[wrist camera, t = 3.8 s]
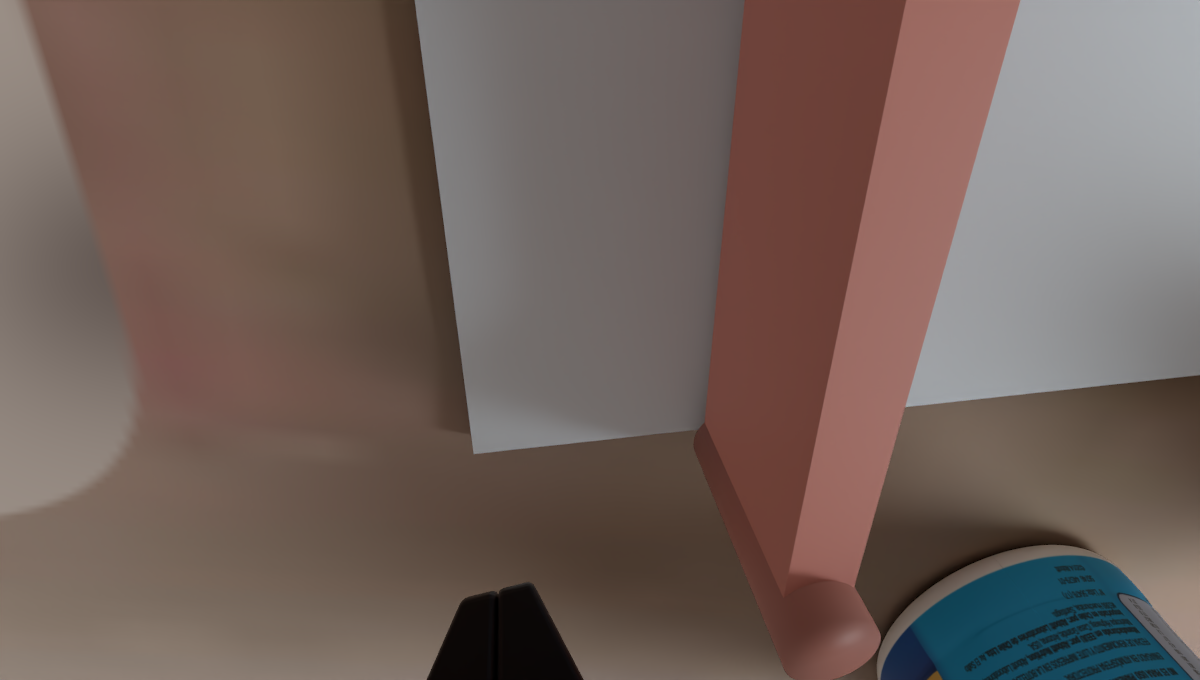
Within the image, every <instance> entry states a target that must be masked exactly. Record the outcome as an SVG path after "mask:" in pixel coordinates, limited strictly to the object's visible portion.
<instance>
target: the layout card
mask: <svg viewBox="0 0 1200 680" xmlns="http://www.w3.org/2000/svg"><path fill="white" fill-rule="evenodd" d="M744 2H745V0H415V6H416V14H417V22H418V29H419V37H420V45H421V53H422V60H423V68H424V76H425V83H426V91H427V99H428V106H429V114H430V122H431V130H432V137H433V145H434V153H435V160H436V168H437V176H438V183H439V191H440V199H441V206H442V214H443V222H444V230H445V237H446V245H447V253H448V260H449V268H450V276H451V283H452V291H453V299H454V307H455V314H456V322H457V330H458V337H459V345H460V353H461V360H462V368H463V376H464V383H465V391H466V399H467V407H468V414H469V422H470V430H471V437H472V445H473V453H474V454H479V453H488V452H497V451H507V450H516V449H525V448H534V447H543V446H552V445H562V444H571V443H580V442H589V441H598V440H608V439H617V438H626V437H635V436H644V435H654V434H663V433H672V432H681V431H690V430H699V428H700V427H701V426H702V424H703V423H704V422H705V412H706V401H707V391H708V380H709V370H710V359H711V349H712V338H713V328H714V317H715V307H716V296H717V286H718V275H719V265H720V254H721V244H722V233H723V223H724V212H725V202H726V191H727V181H728V170H729V160H730V149H731V139H732V128H733V118H734V107H735V97H736V86H737V76H738V65H739V55H740V44H741V34H742V23H743V13H744ZM1196 375H1200V0H1020V4H1019V7H1018V11H1017V14H1016V18H1015V21H1014V25H1013V28H1012V32H1011V35H1010V39H1009V42H1008V46H1007V49H1006V53H1005V57H1004V60H1003V64H1002V67H1001V71H1000V74H999V78H998V81H997V85H996V88H995V92H994V95H993V99H992V102H991V106H990V109H989V113H988V117H987V120H986V124H985V127H984V131H983V134H982V138H981V141H980V145H979V148H978V152H977V155H976V159H975V162H974V166H973V169H972V173H971V177H970V180H969V184H968V187H967V191H966V194H965V198H964V201H963V205H962V208H961V212H960V215H959V219H958V222H957V226H956V229H955V233H954V237H953V240H952V244H951V247H950V251H949V254H948V258H947V261H946V265H945V268H944V272H943V275H942V279H941V282H940V286H939V289H938V293H937V297H936V300H935V304H934V307H933V311H932V314H931V318H930V321H929V325H928V328H927V332H926V335H925V339H924V342H923V346H922V349H921V353H920V356H919V360H918V364H917V367H916V371H915V374H914V378H913V381H912V385H911V388H910V392H909V395H908V399H907V402H906V406H905V407H911V406H920V405H929V404H938V403H948V402H957V401H966V400H975V399H984V398H994V397H1003V396H1012V395H1021V394H1030V393H1040V392H1049V391H1058V390H1067V389H1076V388H1086V387H1095V386H1104V385H1113V384H1122V383H1132V382H1141V381H1150V380H1159V379H1168V378H1177V377H1187V376H1196Z"/></svg>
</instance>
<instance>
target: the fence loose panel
mask: <svg viewBox="0 0 1200 680" xmlns="http://www.w3.org/2000/svg"><path fill="white" fill-rule="evenodd" d="M1019 4H1020V0H745V2H744V13H743V23H742V34H741V44H740V55H739V65H738V76H737V86H736V97H735V107H734V118H733V128H732V139H731V149H730V160H729V170H728V181H727V191H726V202H725V212H724V223H723V233H722V244H721V254H720V265H719V275H718V286H717V296H716V307H715V317H714V328H713V338H712V349H711V359H710V370H709V380H708V391H707V401H706V412H705V422H704V423H703V424H702V426H701V427H700V428H699V430H698V431H697V433H696V435H695V438H694V450H695V453H696V455H697V458H698V460H699V463H700V465H701V468H702V470H703V472H704V475H705V477H706V480H707V482H708V485H709V487H710V489H711V492H712V494H713V497H714V499H715V502H716V504H717V507H718V509H719V511H720V514H721V516H722V519H723V521H724V524H725V526H726V529H727V531H728V533H729V536H730V538H731V541H732V543H733V546H734V548H735V551H736V553H737V555H738V558H739V560H740V563H741V565H742V568H743V570H744V573H745V575H746V577H747V580H748V582H749V585H750V587H751V590H752V592H753V594H754V597H755V599H756V602H757V604H758V607H759V609H760V612H761V614H762V616H763V619H764V621H765V624H766V626H767V629H768V631H769V634H770V636H771V638H772V641H773V643H774V646H775V648H776V651H777V653H778V656H779V658H780V660H781V663H782V665H783V668H784V670H785V672H786V673H787V674H788V675H789V676H790V677H791V678H793V679H795V680H833V679H836V678H839V677H842V676H844V675H847V674H849V673H851V672H853V671H855V670H856V669H858V668H859V667H861V666H862V665H864V664H865V663H866V662H867V661H868V660H869V659H870V658H871V657H872V656H873V655H874V654H875V652H876V651H877V649H878V647H879V645H880V641H881V635H880V632H879V629H878V628H877V626H876V624H875V622H874V620H873V619H872V617H871V615H870V613H869V611H868V610H867V608H866V606H865V604H864V603H863V601H862V599H861V597H860V595H859V594H858V592H857V590H856V588H855V582H856V579H857V575H858V572H859V568H860V565H861V561H862V558H863V554H864V551H865V547H866V544H867V540H868V536H869V533H870V529H871V526H872V522H873V519H874V515H875V512H876V508H877V505H878V501H879V498H880V494H881V491H882V487H883V484H884V480H885V476H886V473H887V469H888V466H889V462H890V459H891V455H892V452H893V448H894V445H895V441H896V438H897V434H898V431H899V427H900V424H901V420H902V416H903V413H904V409H905V406H906V402H907V399H908V395H909V392H910V388H911V385H912V381H913V378H914V374H915V371H916V367H917V364H918V360H919V356H920V353H921V349H922V346H923V342H924V339H925V335H926V332H927V328H928V325H929V321H930V318H931V314H932V311H933V307H934V304H935V300H936V297H937V293H938V289H939V286H940V282H941V279H942V275H943V272H944V268H945V265H946V261H947V258H948V254H949V251H950V247H951V244H952V240H953V237H954V233H955V229H956V226H957V222H958V219H959V215H960V212H961V208H962V205H963V201H964V198H965V194H966V191H967V187H968V184H969V180H970V177H971V173H972V169H973V166H974V162H975V159H976V155H977V152H978V148H979V145H980V141H981V138H982V134H983V131H984V127H985V124H986V120H987V117H988V113H989V109H990V106H991V102H992V99H993V95H994V92H995V88H996V85H997V81H998V78H999V74H1000V71H1001V67H1002V64H1003V60H1004V57H1005V53H1006V49H1007V46H1008V42H1009V39H1010V35H1011V32H1012V28H1013V25H1014V21H1015V18H1016V14H1017V11H1018V7H1019Z"/></svg>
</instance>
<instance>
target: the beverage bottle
mask: <svg viewBox="0 0 1200 680" xmlns="http://www.w3.org/2000/svg"><path fill="white" fill-rule="evenodd" d="M877 677H878V680H1200V659H1199V658H1198V657H1197V656H1196V655H1195V654H1194V653H1193V652H1192V651H1191V649H1190V648H1189V647H1188V646H1187V645H1186V644H1185V643H1184V642H1183V641H1182V640H1181V639H1180V638H1179V637H1178V635H1177V634H1176V633H1175V632H1174V631H1173V630H1172V629H1171V628H1170V627H1169V625H1168V624H1167V623H1166V622H1165V621H1164V620H1163V618H1162V617H1161V616H1160V615H1159V613H1158V612H1157V611H1156V610H1155V609H1154V608H1153V607H1152V605H1151V604H1150V603H1149V601H1148V600H1147V599H1146V597H1145V596H1144V595H1143V594H1142V593H1141V591H1140V590H1139V589H1138V588H1137V587H1136V586H1135V585H1134V584H1133V583H1132V582H1131V581H1130V580H1129V579H1128V578H1127V576H1126V575H1125V574H1124V573H1123V572H1122V571H1121V570H1120V569H1119V568H1118V567H1117V566H1115V565H1114V564H1113V563H1112V562H1110V561H1109V560H1107V559H1106V558H1104V557H1102V556H1101V555H1099V554H1096V553H1094V552H1092V551H1089V550H1086V549H1082V548H1078V547H1073V546H1065V545H1039V546H1030V547H1024V548H1019V549H1014V550H1010V551H1006V552H1002V553H999V554H996V555H993V556H990V557H987V558H984V559H982V560H979V561H977V562H975V563H972V564H970V565H968V566H966V567H964V568H962V569H960V570H958V571H956V572H954V573H952V574H951V575H949V576H947V577H946V578H944V579H942V580H941V581H939V582H938V583H936V584H935V585H933V586H932V587H930V588H929V589H928V590H926V591H925V592H924V593H923V594H921V595H920V596H919V597H918V598H917V599H915V600H914V601H913V602H912V603H911V604H910V605H909V606H908V607H907V608H906V609H905V610H904V611H903V612H902V613H901V615H900V616H899V617H898V618H897V619H896V621H895V622H894V623H893V625H892V626H891V628H890V629H889V631H888V632H887V634H886V636H885V638H884V640H883V642H882V645H881V647H880V650H879V654H878V659H877Z"/></svg>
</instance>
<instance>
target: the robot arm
mask: <svg viewBox="0 0 1200 680" xmlns="http://www.w3.org/2000/svg"><path fill="white" fill-rule="evenodd" d="M427 680H583V678H582V676H581V674H580V672H579V670H578V668H577V666H576V664H575V662H574V660H573V659H572V657H571V655H570V653H569V651H568V649H567V647H566V645H565V643H564V641H563V639H562V638H561V636H560V634H559V632H558V630H557V628H556V626H555V624H554V622H553V620H552V618H551V617H550V615H549V613H548V611H547V609H546V607H545V605H544V603H543V601H542V599H541V597H540V596H539V594H538V592H537V590H536V588H535V586H534V585H533V584H532V583H530V582H526V583H522V584H518V585H514V586H510V587H506V588H503V589H501V590H500V592H499V594H498V593H497V592H495V591H490V592H486V593H482V594H478V595H474V596H470V597H467V598H465V599H464V600H463V601H462V602H461V603H460V605H459V607H458V609H457V612H456V614H455V616H454V619H453V621H452V623H451V625H450V628H449V630H448V632H447V635H446V637H445V639H444V641H443V644H442V646H441V648H440V651H439V653H438V655H437V657H436V660H435V662H434V664H433V667H432V669H431V671H430V673H429V676H428V678H427Z"/></svg>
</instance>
